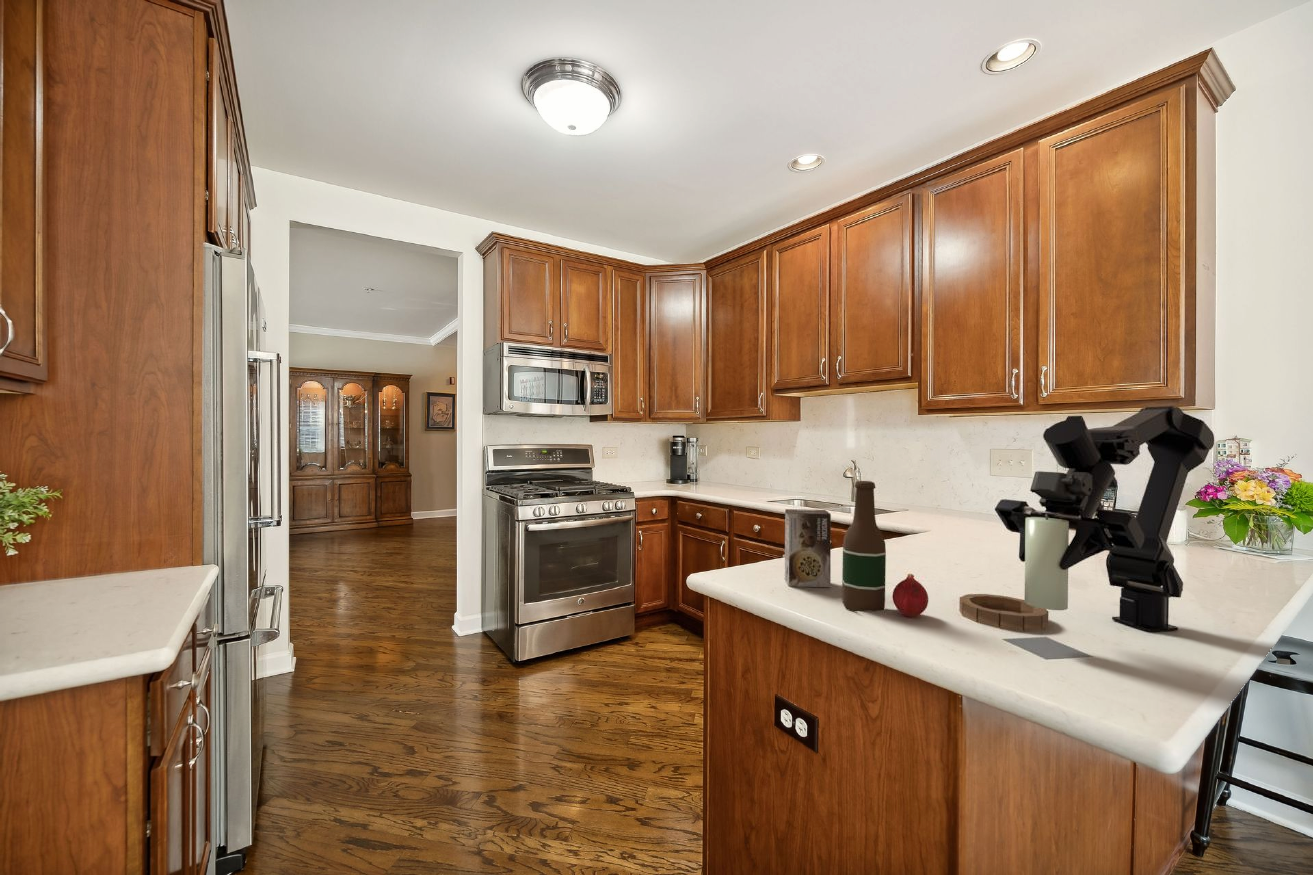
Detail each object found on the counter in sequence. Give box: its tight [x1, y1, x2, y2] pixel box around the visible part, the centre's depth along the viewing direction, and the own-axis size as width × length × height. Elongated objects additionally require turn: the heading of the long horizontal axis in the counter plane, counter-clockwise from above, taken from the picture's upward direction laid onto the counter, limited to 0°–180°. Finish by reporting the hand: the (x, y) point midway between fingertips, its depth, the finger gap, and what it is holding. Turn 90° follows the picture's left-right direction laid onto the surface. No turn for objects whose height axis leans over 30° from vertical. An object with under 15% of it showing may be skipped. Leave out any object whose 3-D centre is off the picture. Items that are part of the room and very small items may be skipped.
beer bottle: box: [841, 480, 887, 612], centre depth 104 cm, size 8×8×24 cm
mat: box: [1002, 636, 1094, 660], centre depth 84 cm, size 8×8×1 cm
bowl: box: [958, 593, 1050, 632], centre depth 98 cm, size 13×13×3 cm
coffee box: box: [784, 508, 832, 588], centre depth 121 cm, size 9×6×16 cm
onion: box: [892, 573, 929, 618], centre depth 98 cm, size 6×6×8 cm
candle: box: [1023, 514, 1070, 611], centre depth 84 cm, size 5×5×14 cm
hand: (1040, 563), depth 83 cm, fingers closed on candle, 5 cm apart
